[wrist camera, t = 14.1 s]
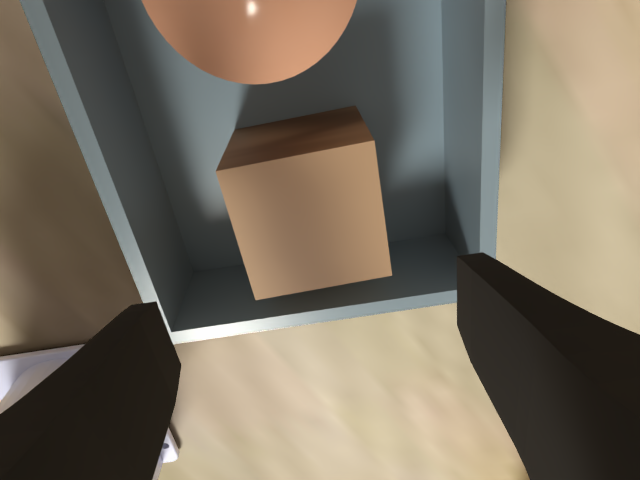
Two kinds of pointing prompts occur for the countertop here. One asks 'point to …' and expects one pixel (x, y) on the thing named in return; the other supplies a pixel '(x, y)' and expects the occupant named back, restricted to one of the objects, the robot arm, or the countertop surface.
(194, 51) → the terracotta capsule
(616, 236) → the countertop surface
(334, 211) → the walnut cube
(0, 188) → the countertop surface
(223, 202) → the tote
